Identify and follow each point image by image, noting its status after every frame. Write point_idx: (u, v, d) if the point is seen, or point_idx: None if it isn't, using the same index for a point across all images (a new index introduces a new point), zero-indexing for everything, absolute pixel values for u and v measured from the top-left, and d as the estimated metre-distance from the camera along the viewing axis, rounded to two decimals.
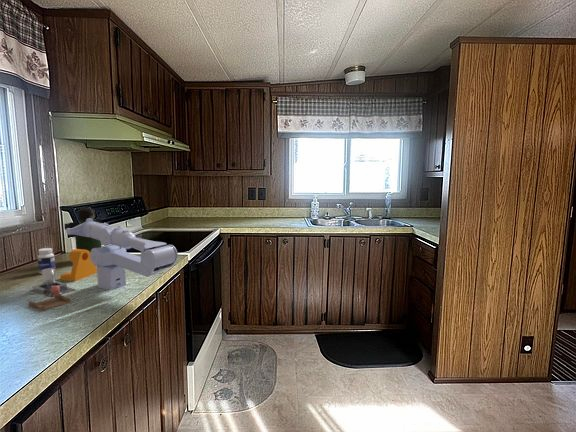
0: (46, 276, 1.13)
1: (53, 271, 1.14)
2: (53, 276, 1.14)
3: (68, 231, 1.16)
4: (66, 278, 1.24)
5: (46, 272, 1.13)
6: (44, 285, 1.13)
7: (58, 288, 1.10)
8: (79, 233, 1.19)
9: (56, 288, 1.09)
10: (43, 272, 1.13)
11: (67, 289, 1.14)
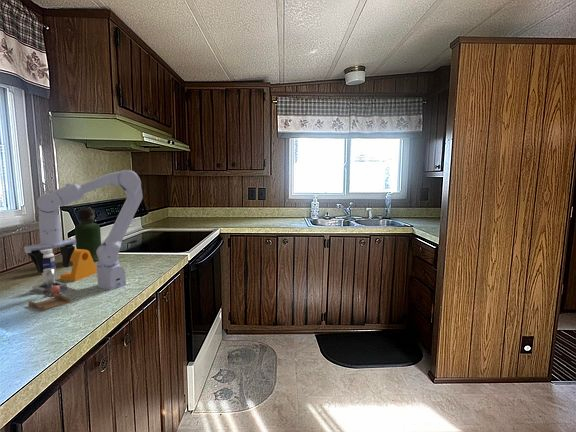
0: (46, 276, 1.13)
1: (53, 271, 1.14)
2: (53, 276, 1.14)
3: None
4: (66, 278, 1.24)
5: (46, 272, 1.13)
6: (44, 285, 1.13)
7: (58, 288, 1.10)
8: None
9: (56, 288, 1.09)
10: (43, 272, 1.13)
11: (67, 289, 1.14)
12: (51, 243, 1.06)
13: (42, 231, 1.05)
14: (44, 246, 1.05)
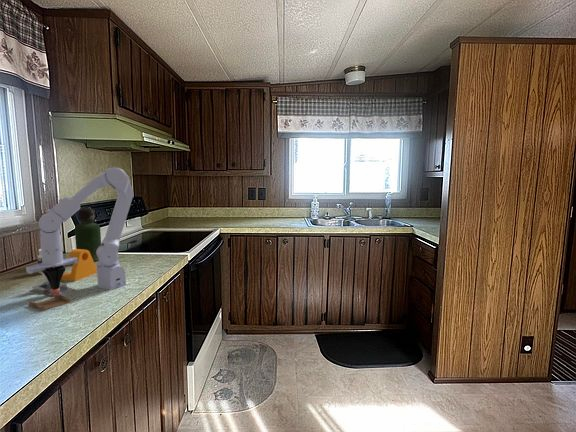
0: None
1: None
2: None
3: None
4: (66, 278, 1.24)
5: None
6: (44, 285, 1.13)
7: (58, 290, 1.10)
8: None
9: (56, 290, 1.09)
10: None
11: (67, 289, 1.14)
12: (53, 263, 1.07)
13: (44, 251, 1.06)
14: (46, 266, 1.05)
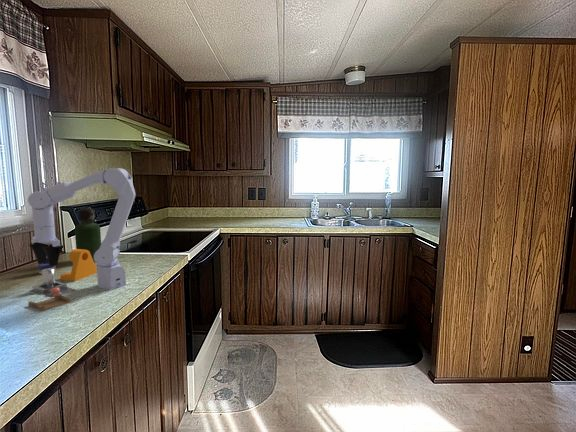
0: (46, 276, 1.13)
1: (53, 271, 1.14)
2: (53, 276, 1.14)
3: (56, 242, 1.09)
4: (66, 278, 1.24)
5: (46, 272, 1.13)
6: (44, 285, 1.13)
7: (58, 290, 1.10)
8: (54, 240, 1.12)
9: (56, 290, 1.09)
10: (43, 272, 1.13)
11: (67, 289, 1.14)
12: (35, 238, 1.11)
13: None
14: (34, 239, 1.12)
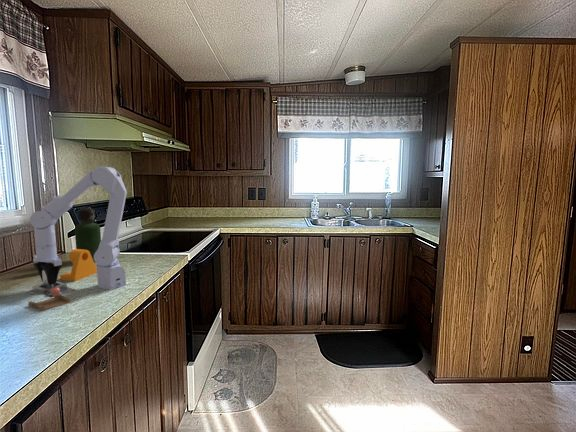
0: (46, 276, 1.13)
1: None
2: None
3: (58, 261, 1.10)
4: (66, 278, 1.24)
5: None
6: (44, 285, 1.13)
7: (58, 290, 1.10)
8: (56, 259, 1.13)
9: (56, 290, 1.09)
10: (43, 272, 1.13)
11: (67, 289, 1.14)
12: (36, 257, 1.12)
13: None
14: (36, 258, 1.13)
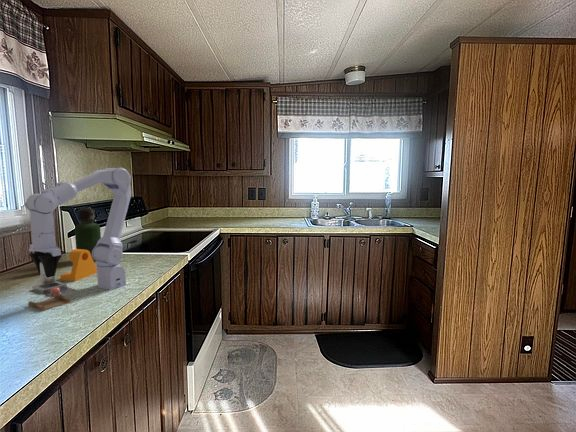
0: None
1: None
2: None
3: (56, 251, 0.97)
4: (66, 278, 1.24)
5: None
6: (43, 279, 1.00)
7: (58, 290, 1.10)
8: (55, 248, 1.00)
9: (56, 290, 1.09)
10: (41, 264, 0.99)
11: (67, 289, 1.14)
12: (32, 246, 0.99)
13: None
14: (32, 248, 1.00)
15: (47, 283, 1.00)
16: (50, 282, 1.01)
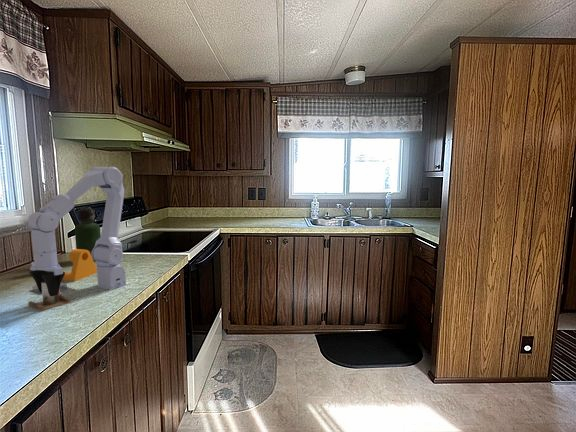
0: (47, 289, 1.00)
1: None
2: None
3: (58, 270, 0.97)
4: (66, 278, 1.24)
5: None
6: (45, 299, 1.00)
7: None
8: (56, 267, 1.00)
9: None
10: (43, 285, 0.99)
11: (67, 289, 1.14)
12: (34, 265, 0.98)
13: None
14: (33, 266, 1.00)
15: (49, 304, 1.00)
16: (52, 302, 1.01)
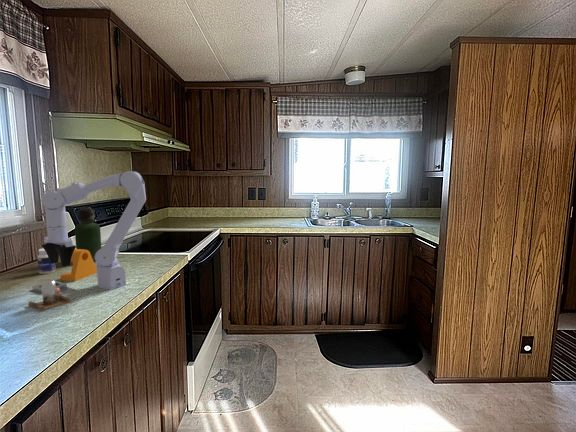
0: (47, 288, 1.00)
1: (54, 283, 1.01)
2: (54, 288, 1.01)
3: (69, 242, 1.09)
4: (66, 278, 1.24)
5: (47, 284, 1.00)
6: (44, 299, 1.00)
7: (58, 290, 1.10)
8: (67, 240, 1.12)
9: (56, 290, 1.09)
10: (43, 284, 0.99)
11: (67, 289, 1.14)
12: (47, 238, 1.11)
13: None
14: (46, 240, 1.12)
15: (49, 303, 1.00)
16: (52, 302, 1.01)
